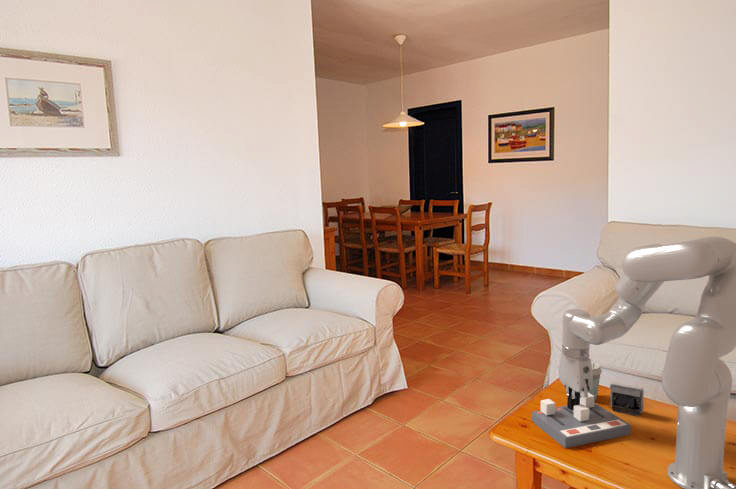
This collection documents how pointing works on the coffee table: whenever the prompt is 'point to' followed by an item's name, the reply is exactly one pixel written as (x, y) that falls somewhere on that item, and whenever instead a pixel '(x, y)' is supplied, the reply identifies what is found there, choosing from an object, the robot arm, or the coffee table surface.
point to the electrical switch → (626, 399)
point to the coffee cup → (595, 379)
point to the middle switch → (581, 412)
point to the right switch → (587, 401)
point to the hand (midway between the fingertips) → (573, 408)
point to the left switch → (547, 407)
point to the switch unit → (581, 426)
